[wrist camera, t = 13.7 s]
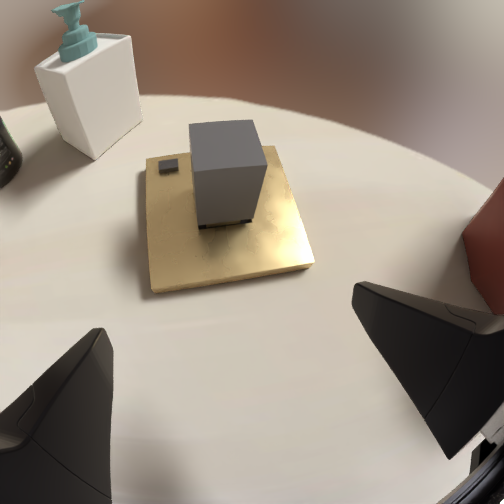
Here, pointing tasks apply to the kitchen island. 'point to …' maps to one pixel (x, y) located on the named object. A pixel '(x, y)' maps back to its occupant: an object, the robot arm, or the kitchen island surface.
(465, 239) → the bucket
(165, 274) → the socket
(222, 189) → the plug
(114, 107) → the soap bottle
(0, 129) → the supplement bottle
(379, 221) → the kitchen island surface
